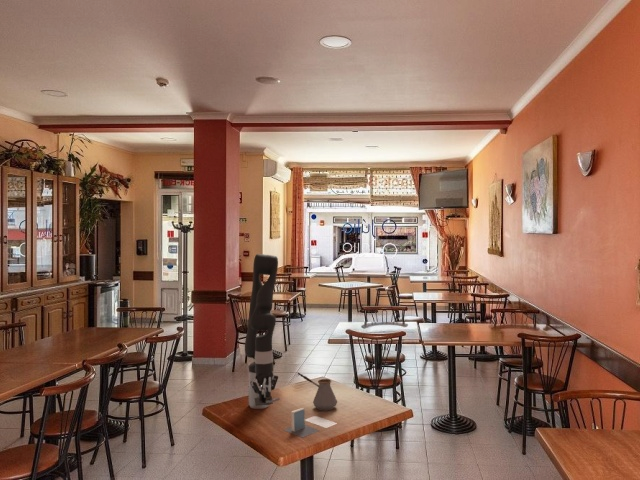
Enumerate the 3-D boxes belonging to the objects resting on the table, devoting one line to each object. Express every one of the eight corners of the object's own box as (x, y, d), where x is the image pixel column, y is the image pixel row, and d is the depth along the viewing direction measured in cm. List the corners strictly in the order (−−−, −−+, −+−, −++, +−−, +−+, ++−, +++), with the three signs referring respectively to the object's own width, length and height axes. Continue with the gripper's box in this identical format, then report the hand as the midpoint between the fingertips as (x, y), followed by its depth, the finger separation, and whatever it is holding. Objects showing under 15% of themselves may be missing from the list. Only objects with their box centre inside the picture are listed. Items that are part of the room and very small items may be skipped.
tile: (291, 430, 216) (291, 411, 216) (302, 426, 220) (301, 407, 220) (294, 431, 215) (294, 412, 215) (305, 427, 219) (304, 408, 219)
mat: (283, 431, 217) (283, 429, 217) (300, 424, 224) (300, 423, 224) (302, 439, 208) (302, 437, 208) (320, 431, 215) (320, 430, 215)
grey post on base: (254, 406, 219) (252, 398, 220) (261, 403, 222) (260, 396, 222) (272, 405, 210) (271, 397, 211) (280, 402, 213) (278, 395, 213)
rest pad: (303, 421, 228) (303, 420, 228) (315, 417, 233) (315, 415, 233) (326, 429, 218) (326, 428, 218) (337, 424, 223) (337, 423, 223)
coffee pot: (341, 406, 247) (340, 374, 246) (329, 413, 237) (328, 381, 236) (304, 399, 258) (303, 369, 257) (291, 406, 248) (290, 375, 248)
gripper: (271, 356, 224) (272, 395, 224) (245, 362, 214) (246, 403, 215) (282, 359, 219) (283, 399, 219) (256, 365, 209) (257, 408, 209)
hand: (264, 401), depth 217 cm, fingers closed on grey post on base, 2 cm apart
